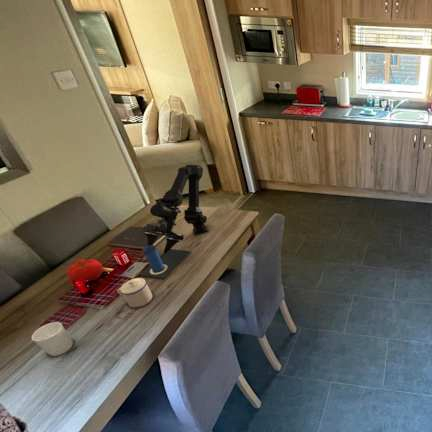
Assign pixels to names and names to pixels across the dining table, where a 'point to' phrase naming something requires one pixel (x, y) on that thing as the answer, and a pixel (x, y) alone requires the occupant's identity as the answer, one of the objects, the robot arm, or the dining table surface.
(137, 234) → the hardcover book
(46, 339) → the white cup
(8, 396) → the dining table surface
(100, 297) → the dining table surface
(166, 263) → the mat
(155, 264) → the tube
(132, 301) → the teacup with lid
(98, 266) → the tomato
